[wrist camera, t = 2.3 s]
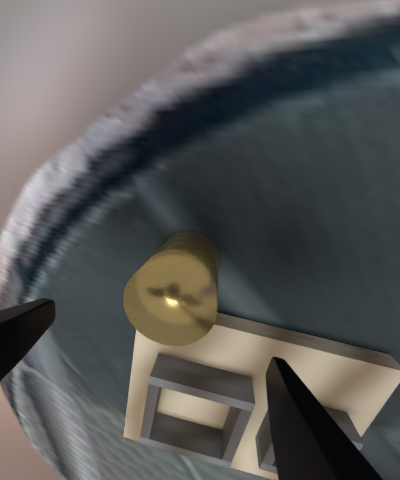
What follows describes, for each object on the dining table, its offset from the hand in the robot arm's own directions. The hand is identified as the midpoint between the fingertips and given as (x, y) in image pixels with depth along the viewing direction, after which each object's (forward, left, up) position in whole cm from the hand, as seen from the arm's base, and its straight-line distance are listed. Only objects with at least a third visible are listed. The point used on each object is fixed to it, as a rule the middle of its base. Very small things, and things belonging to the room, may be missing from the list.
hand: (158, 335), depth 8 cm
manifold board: (-7, +12, -8) cm, 16 cm away
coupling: (0, 0, -8) cm, 8 cm away
